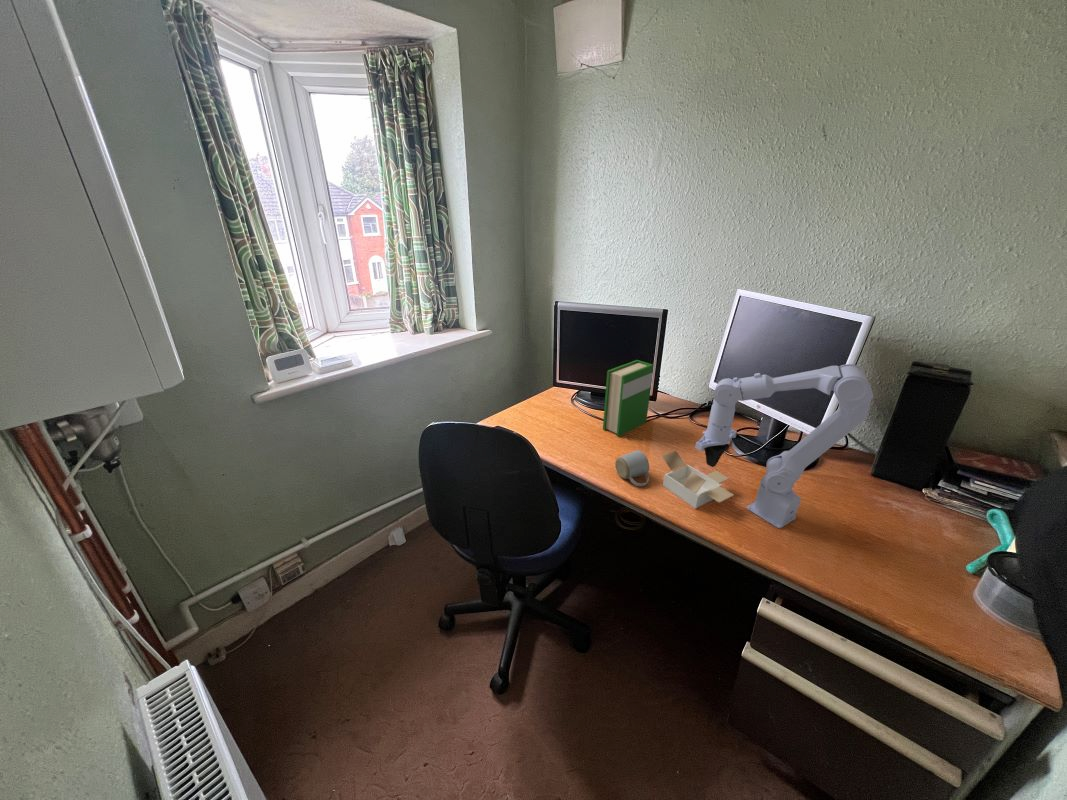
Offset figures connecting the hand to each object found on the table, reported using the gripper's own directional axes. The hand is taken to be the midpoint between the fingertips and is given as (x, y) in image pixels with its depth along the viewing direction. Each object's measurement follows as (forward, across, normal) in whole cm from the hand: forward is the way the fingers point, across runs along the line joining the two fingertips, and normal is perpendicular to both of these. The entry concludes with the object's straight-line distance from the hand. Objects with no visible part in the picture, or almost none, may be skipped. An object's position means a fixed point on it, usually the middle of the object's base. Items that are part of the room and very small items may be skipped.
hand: (710, 464), depth 114 cm
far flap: (+4, +2, -11) cm, 12 cm away
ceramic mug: (+10, +12, -17) cm, 23 cm away
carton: (+10, +1, 0) cm, 10 cm away
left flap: (+4, +6, 0) cm, 7 cm away
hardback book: (+10, -8, -43) cm, 45 cm away
